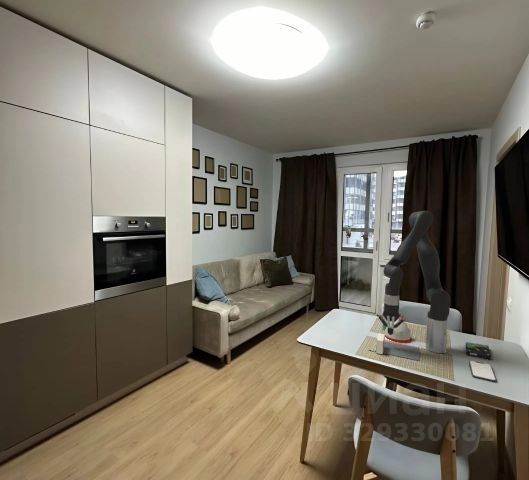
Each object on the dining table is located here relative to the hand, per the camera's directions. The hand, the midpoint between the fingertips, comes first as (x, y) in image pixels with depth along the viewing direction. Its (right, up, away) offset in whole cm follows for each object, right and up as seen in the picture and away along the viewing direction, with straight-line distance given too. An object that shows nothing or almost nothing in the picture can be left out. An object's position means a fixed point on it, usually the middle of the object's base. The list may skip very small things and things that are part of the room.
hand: (390, 334), depth 156 cm
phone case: (+32, -11, -23) cm, 41 cm away
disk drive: (+45, -9, -2) cm, 46 cm away
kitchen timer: (+11, -7, +15) cm, 20 cm away
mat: (+2, -8, 0) cm, 8 cm away
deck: (-4, -4, +2) cm, 6 cm away
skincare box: (+11, -6, +29) cm, 32 cm away
